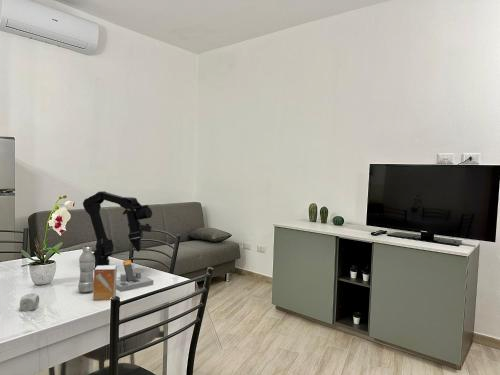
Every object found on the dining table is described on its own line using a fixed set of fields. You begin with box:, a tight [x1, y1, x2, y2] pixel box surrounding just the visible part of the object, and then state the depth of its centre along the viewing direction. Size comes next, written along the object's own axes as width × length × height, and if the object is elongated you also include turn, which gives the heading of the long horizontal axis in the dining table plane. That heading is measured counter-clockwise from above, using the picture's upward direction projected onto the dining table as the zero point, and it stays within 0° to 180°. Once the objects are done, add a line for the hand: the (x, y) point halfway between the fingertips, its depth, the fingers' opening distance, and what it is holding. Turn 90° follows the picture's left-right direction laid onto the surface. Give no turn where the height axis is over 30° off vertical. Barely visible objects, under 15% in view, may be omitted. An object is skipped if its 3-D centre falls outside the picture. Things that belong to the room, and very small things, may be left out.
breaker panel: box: [116, 270, 154, 293], centre depth 164 cm, size 14×16×5 cm
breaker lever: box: [122, 259, 136, 283], centre depth 165 cm, size 2×4×10 cm
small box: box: [92, 264, 118, 301], centre depth 146 cm, size 8×6×13 cm
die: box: [19, 293, 40, 312], centre depth 131 cm, size 5×5×5 cm
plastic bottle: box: [77, 245, 95, 293], centre depth 151 cm, size 6×7×20 cm
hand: (139, 250), depth 180 cm, fingers open, 9 cm apart
